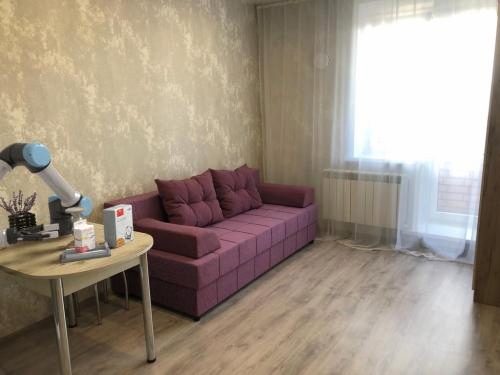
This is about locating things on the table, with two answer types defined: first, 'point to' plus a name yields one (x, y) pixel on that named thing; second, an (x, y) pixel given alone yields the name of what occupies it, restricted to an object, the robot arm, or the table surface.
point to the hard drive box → (118, 225)
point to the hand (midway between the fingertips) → (58, 230)
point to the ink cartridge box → (84, 236)
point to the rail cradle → (86, 253)
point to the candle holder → (75, 220)
